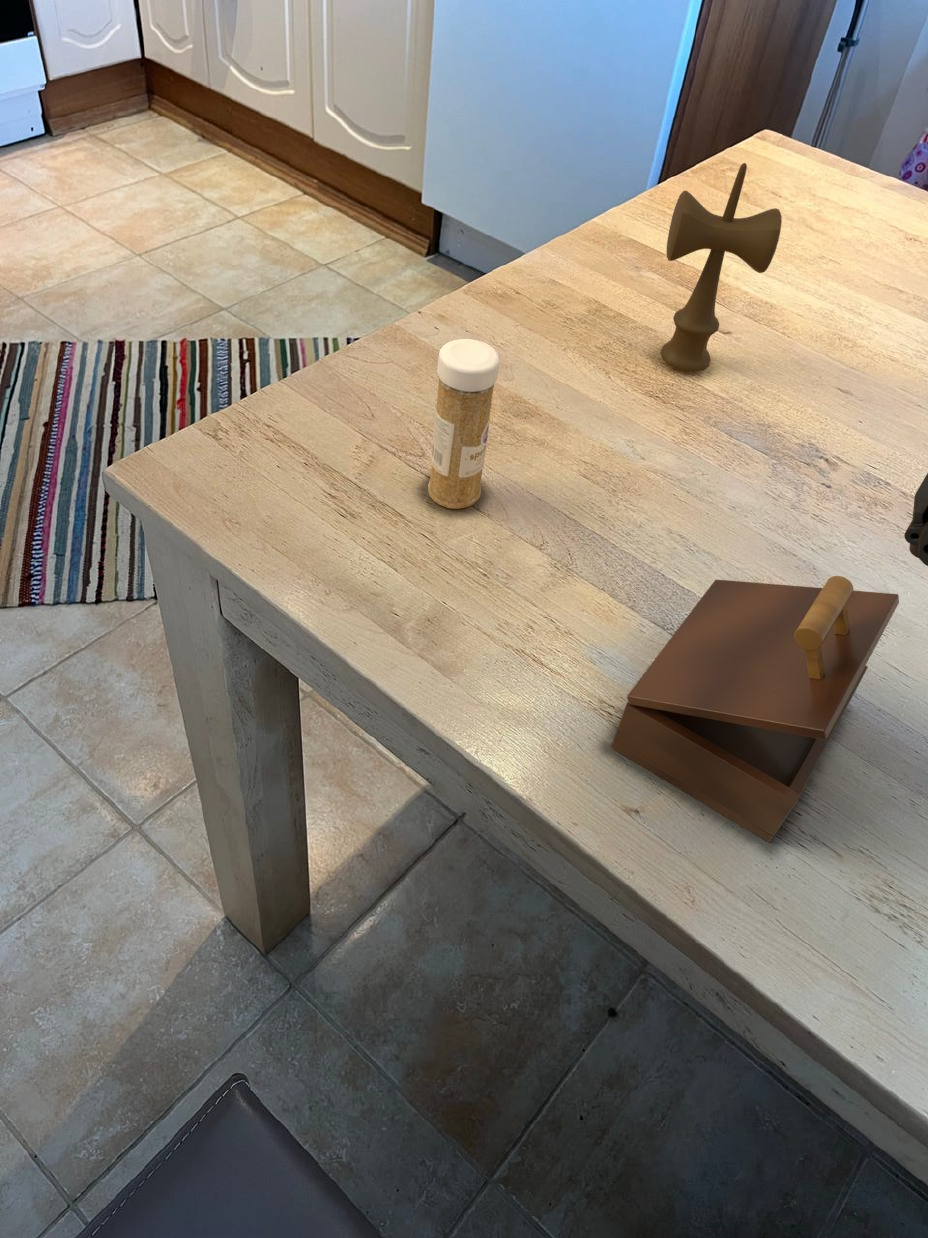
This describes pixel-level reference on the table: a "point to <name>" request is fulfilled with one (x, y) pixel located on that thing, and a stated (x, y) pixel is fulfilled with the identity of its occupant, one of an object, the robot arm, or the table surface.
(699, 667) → the lid
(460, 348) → the spice jar
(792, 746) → the keepsake box
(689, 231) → the kendama
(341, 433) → the table surface
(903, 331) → the table surface
